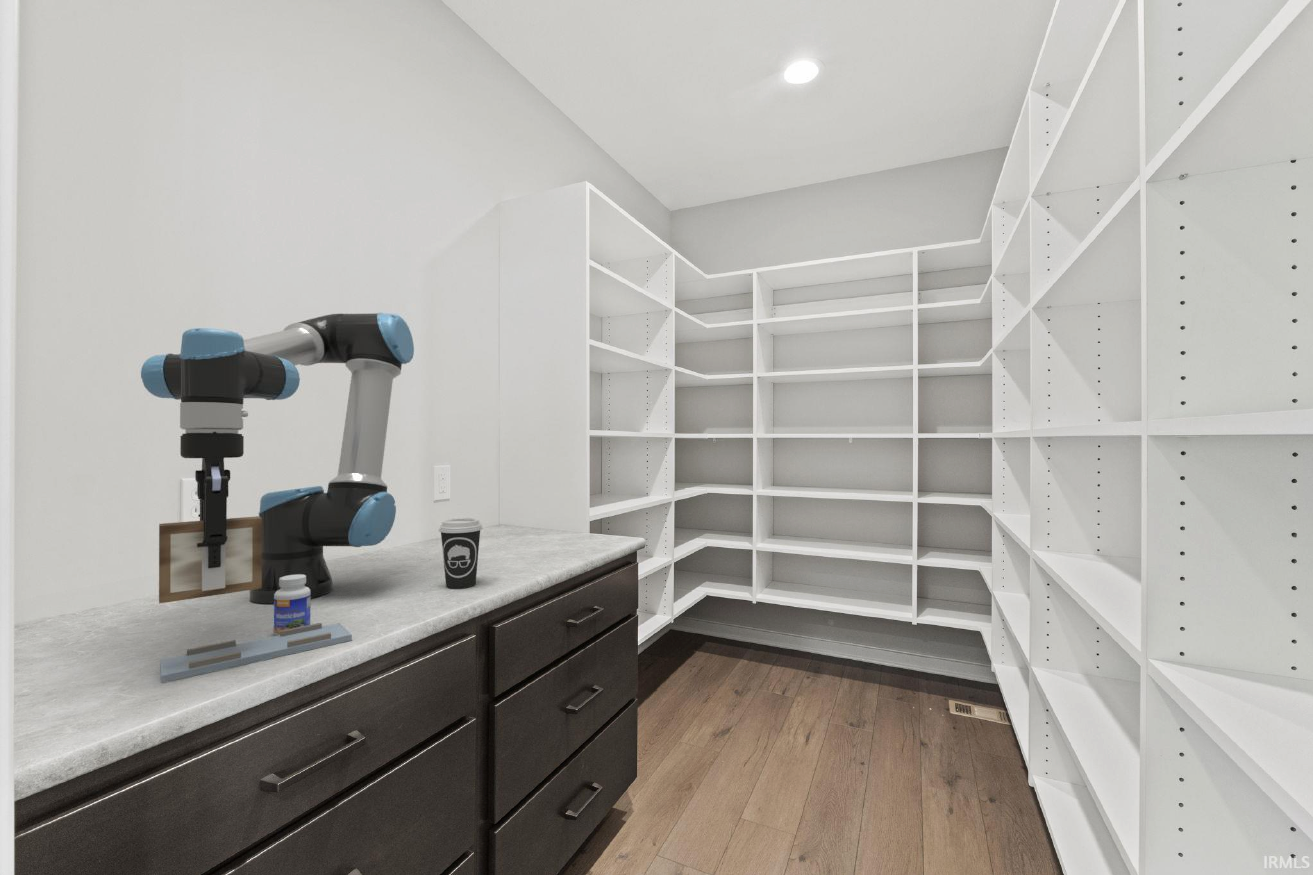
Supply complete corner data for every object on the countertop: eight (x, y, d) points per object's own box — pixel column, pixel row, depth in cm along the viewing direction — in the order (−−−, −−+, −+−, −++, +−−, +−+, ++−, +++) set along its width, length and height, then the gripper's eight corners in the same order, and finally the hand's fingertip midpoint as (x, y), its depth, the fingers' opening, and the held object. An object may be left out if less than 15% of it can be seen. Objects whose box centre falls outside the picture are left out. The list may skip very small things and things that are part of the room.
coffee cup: (491, 583, 130) (491, 519, 130) (457, 593, 122) (456, 524, 122) (464, 578, 136) (464, 516, 136) (429, 587, 128) (429, 521, 128)
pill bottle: (271, 639, 94) (271, 582, 94) (276, 629, 99) (275, 575, 99) (309, 634, 97) (308, 578, 97) (311, 625, 102) (311, 571, 102)
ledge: (160, 665, 84) (160, 653, 84) (339, 628, 100) (339, 618, 100) (161, 682, 78) (161, 670, 78) (351, 640, 94) (351, 629, 94)
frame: (159, 603, 79) (159, 526, 79) (158, 598, 82) (159, 523, 82) (261, 588, 87) (261, 518, 87) (258, 584, 90) (258, 516, 90)
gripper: (250, 431, 81) (250, 592, 81) (237, 432, 93) (236, 573, 93) (183, 430, 76) (182, 602, 76) (178, 432, 88) (177, 580, 88)
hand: (212, 586), depth 85 cm, fingers closed on frame, 3 cm apart
